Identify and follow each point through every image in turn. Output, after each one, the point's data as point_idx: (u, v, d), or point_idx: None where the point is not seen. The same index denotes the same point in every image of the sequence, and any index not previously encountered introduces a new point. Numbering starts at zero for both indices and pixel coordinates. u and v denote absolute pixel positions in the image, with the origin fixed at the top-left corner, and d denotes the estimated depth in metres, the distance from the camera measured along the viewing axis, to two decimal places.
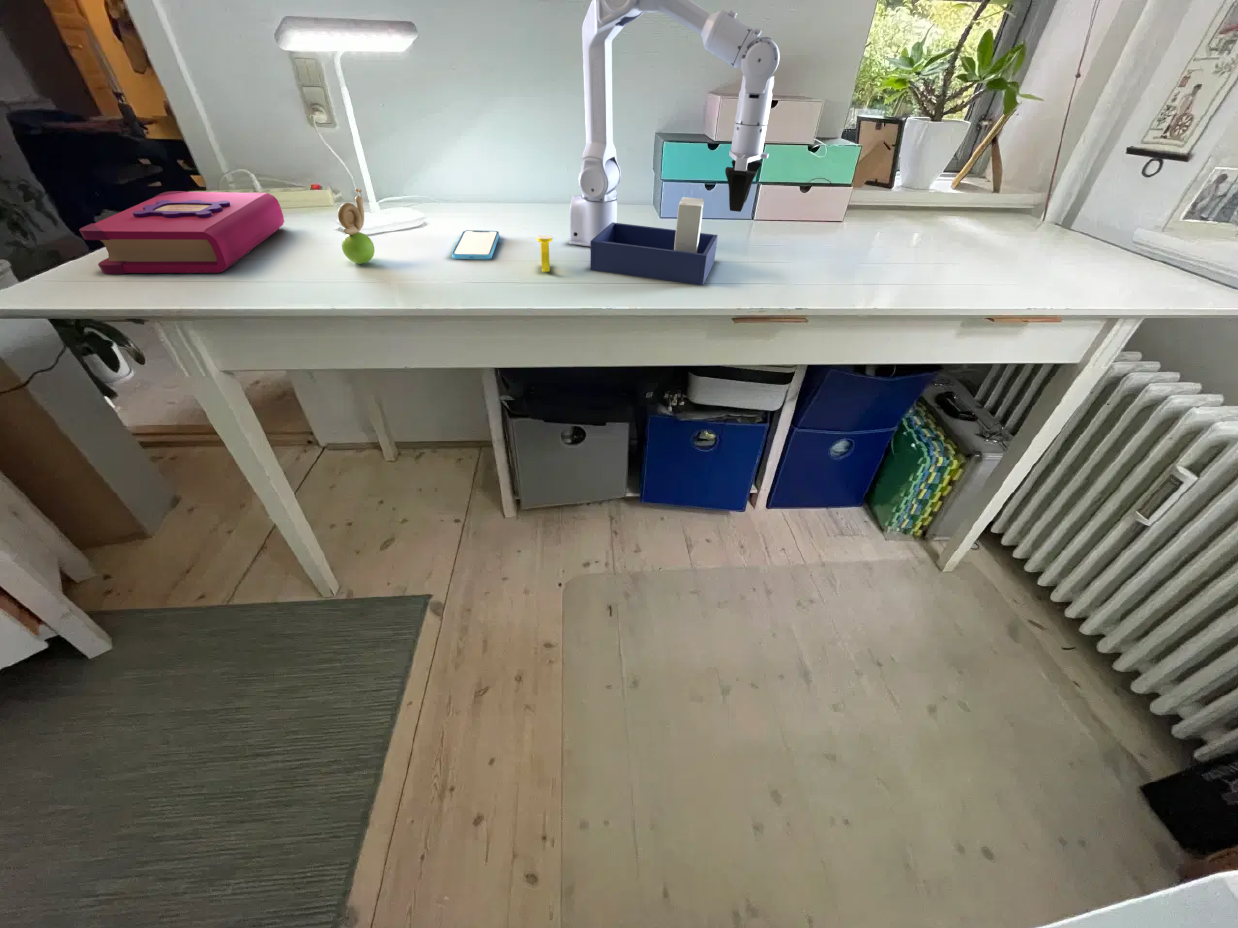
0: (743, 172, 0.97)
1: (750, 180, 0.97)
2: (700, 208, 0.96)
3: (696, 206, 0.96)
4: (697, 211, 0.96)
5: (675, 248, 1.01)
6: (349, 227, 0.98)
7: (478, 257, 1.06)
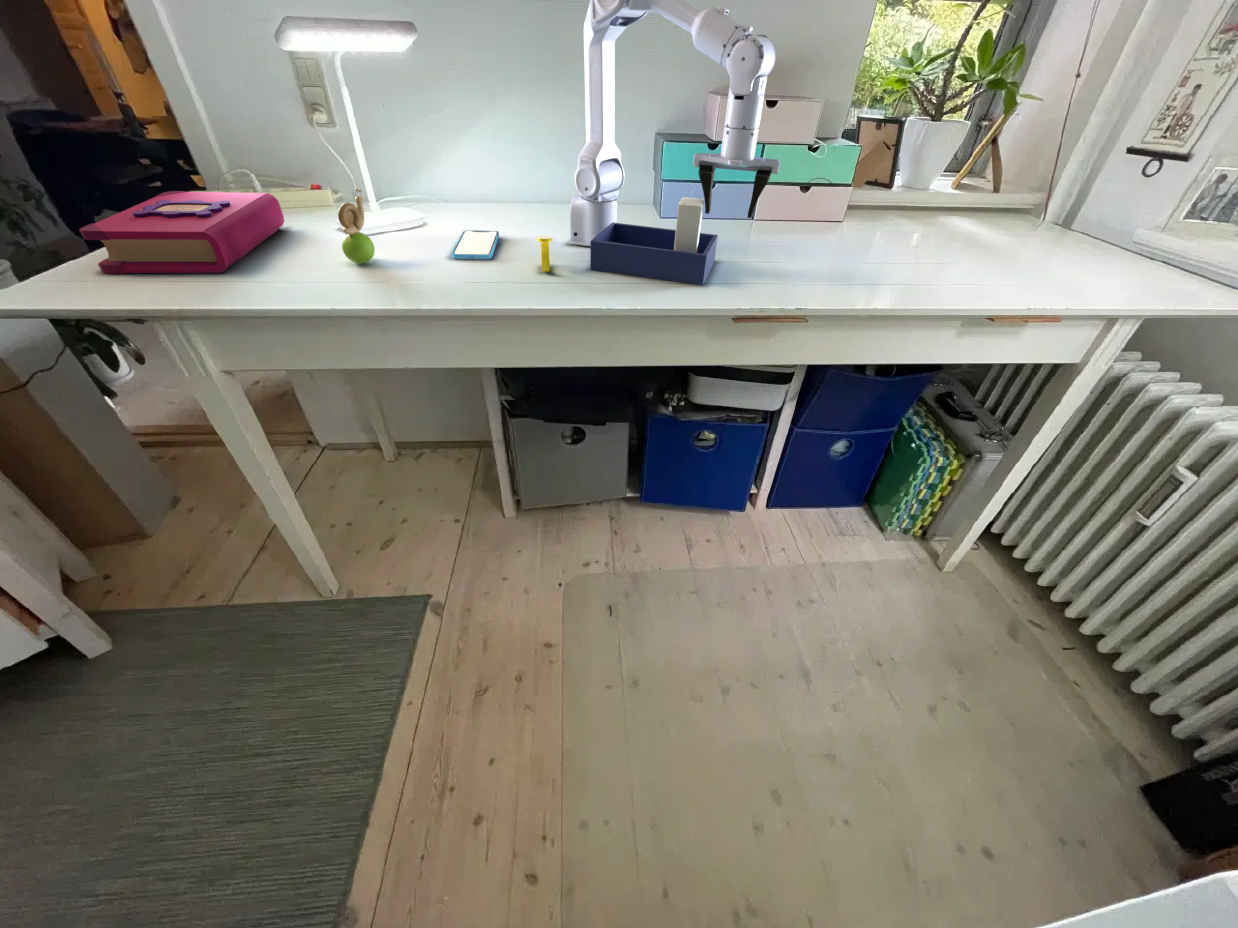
0: None
1: (700, 179, 0.95)
2: (700, 208, 0.96)
3: (696, 206, 0.96)
4: (697, 211, 0.96)
5: (675, 248, 1.01)
6: (349, 227, 0.98)
7: (478, 257, 1.06)
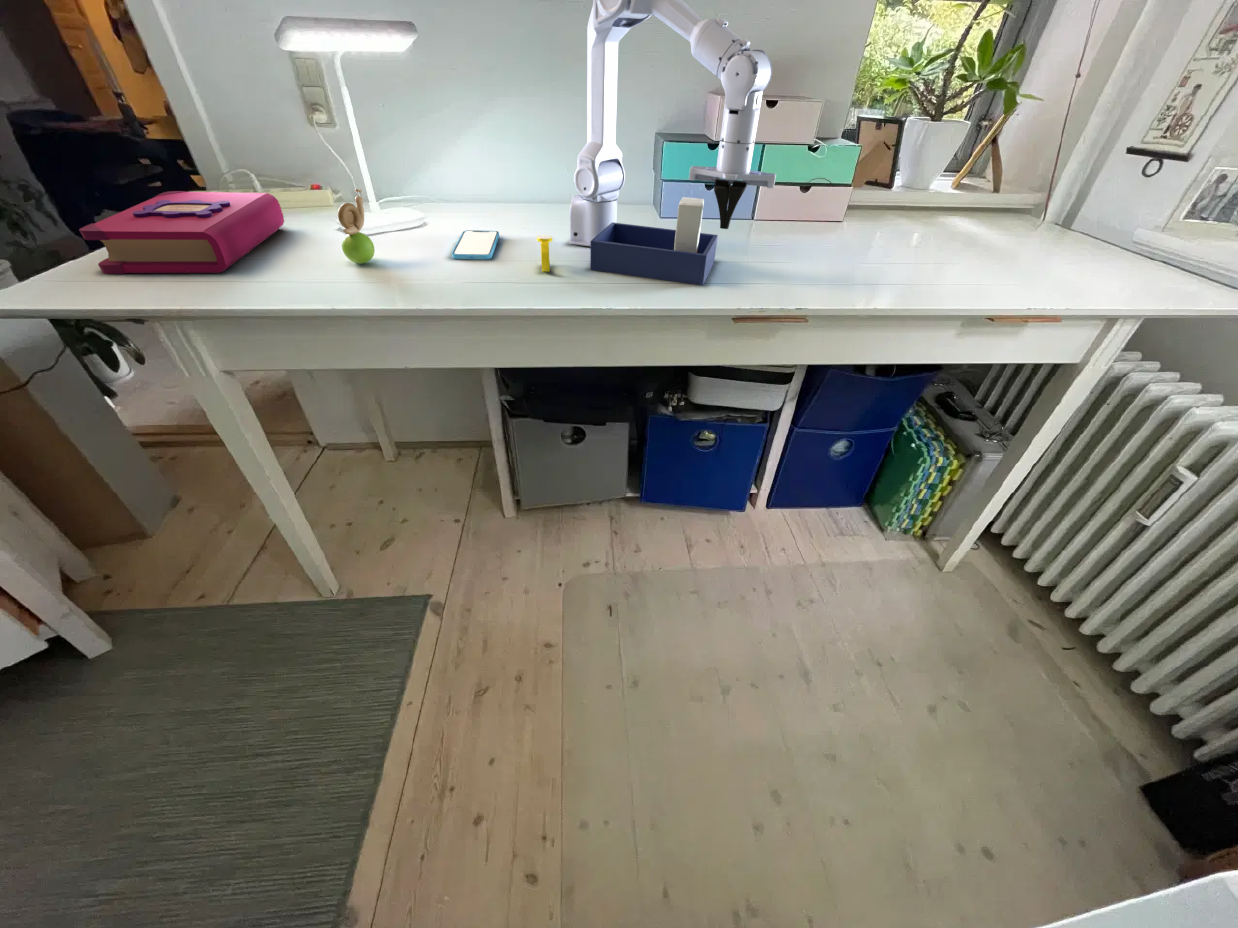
0: (715, 184, 0.95)
1: (715, 194, 0.95)
2: (700, 208, 0.96)
3: (696, 206, 0.96)
4: (697, 211, 0.96)
5: (675, 248, 1.01)
6: (349, 227, 0.98)
7: (478, 257, 1.06)
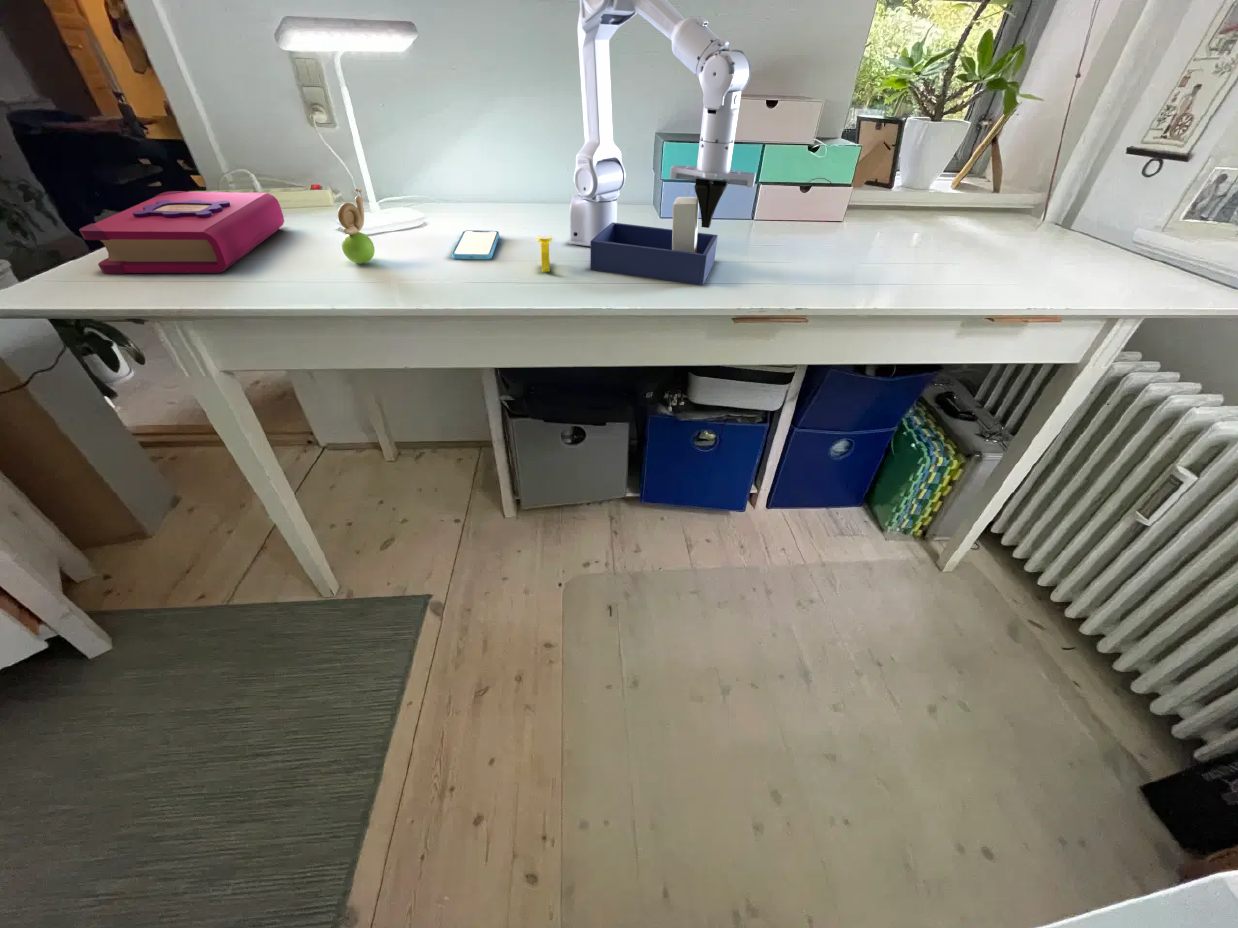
0: None
1: (696, 193, 0.95)
2: (695, 206, 0.96)
3: (690, 204, 0.96)
4: (692, 209, 0.96)
5: (673, 248, 1.01)
6: (349, 227, 0.98)
7: (478, 257, 1.06)
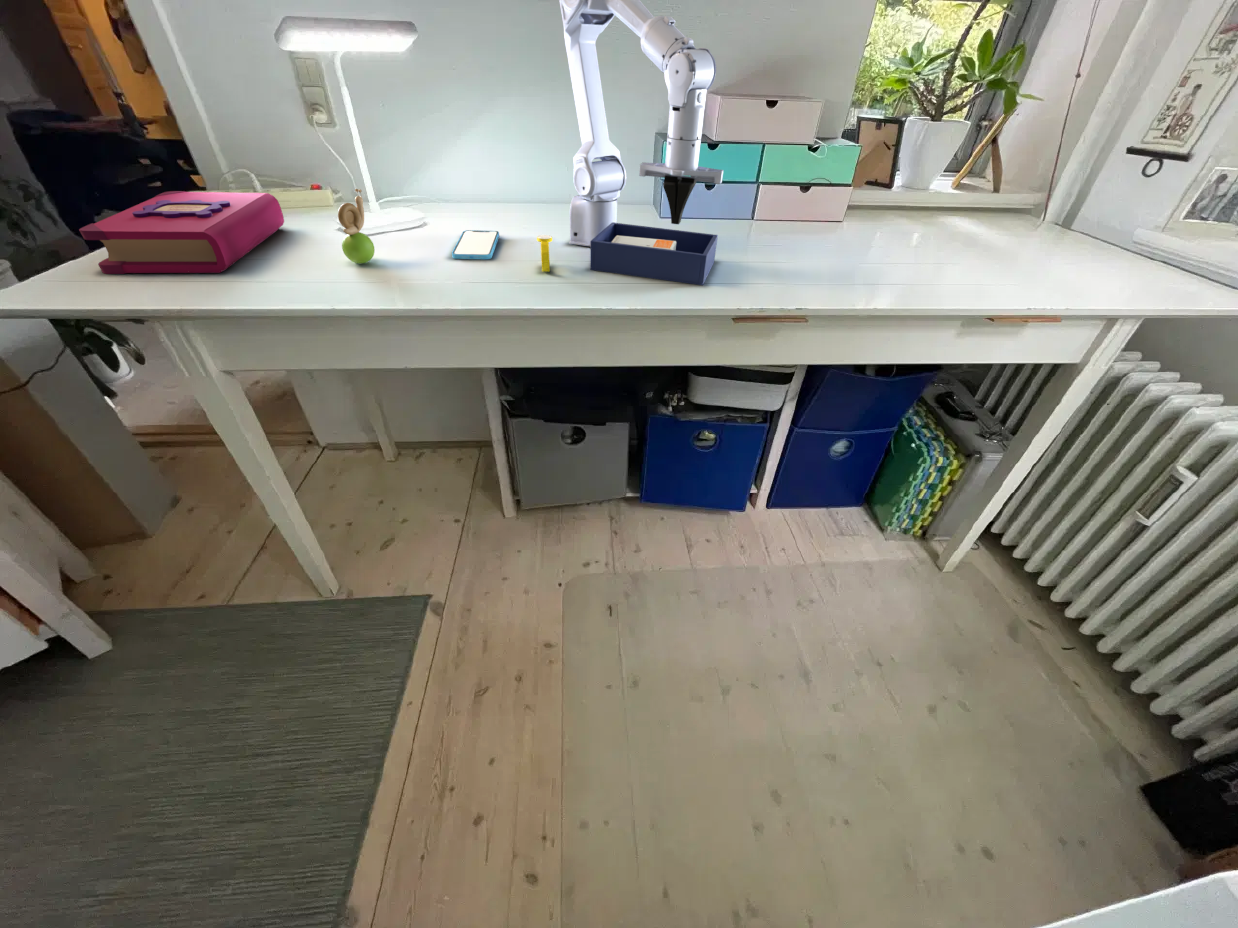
0: None
1: (665, 190, 0.97)
2: None
3: None
4: None
5: None
6: (349, 227, 0.98)
7: (478, 257, 1.06)
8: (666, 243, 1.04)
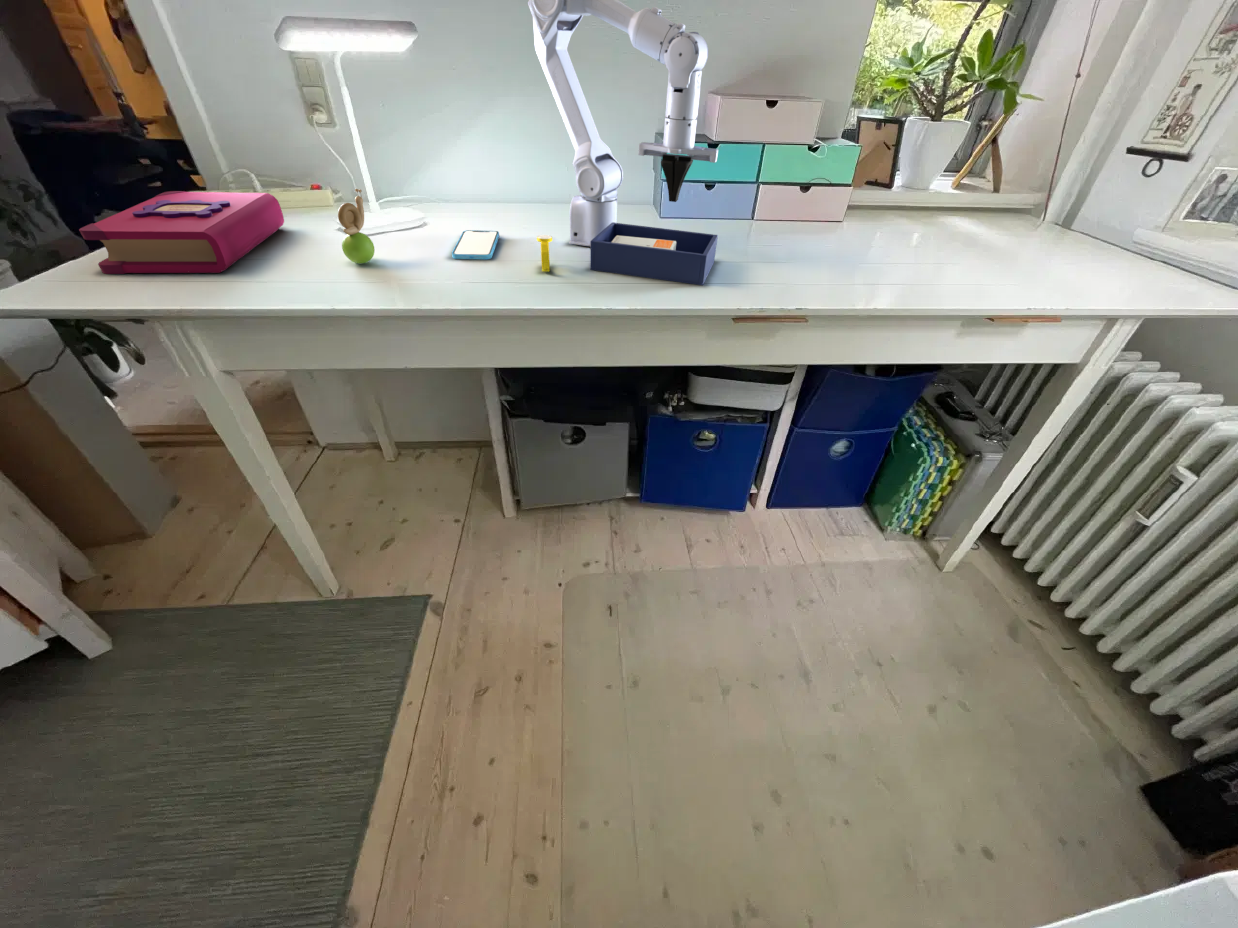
0: None
1: (662, 168, 1.02)
2: None
3: None
4: None
5: None
6: (349, 227, 0.98)
7: (478, 257, 1.06)
8: (666, 243, 1.04)
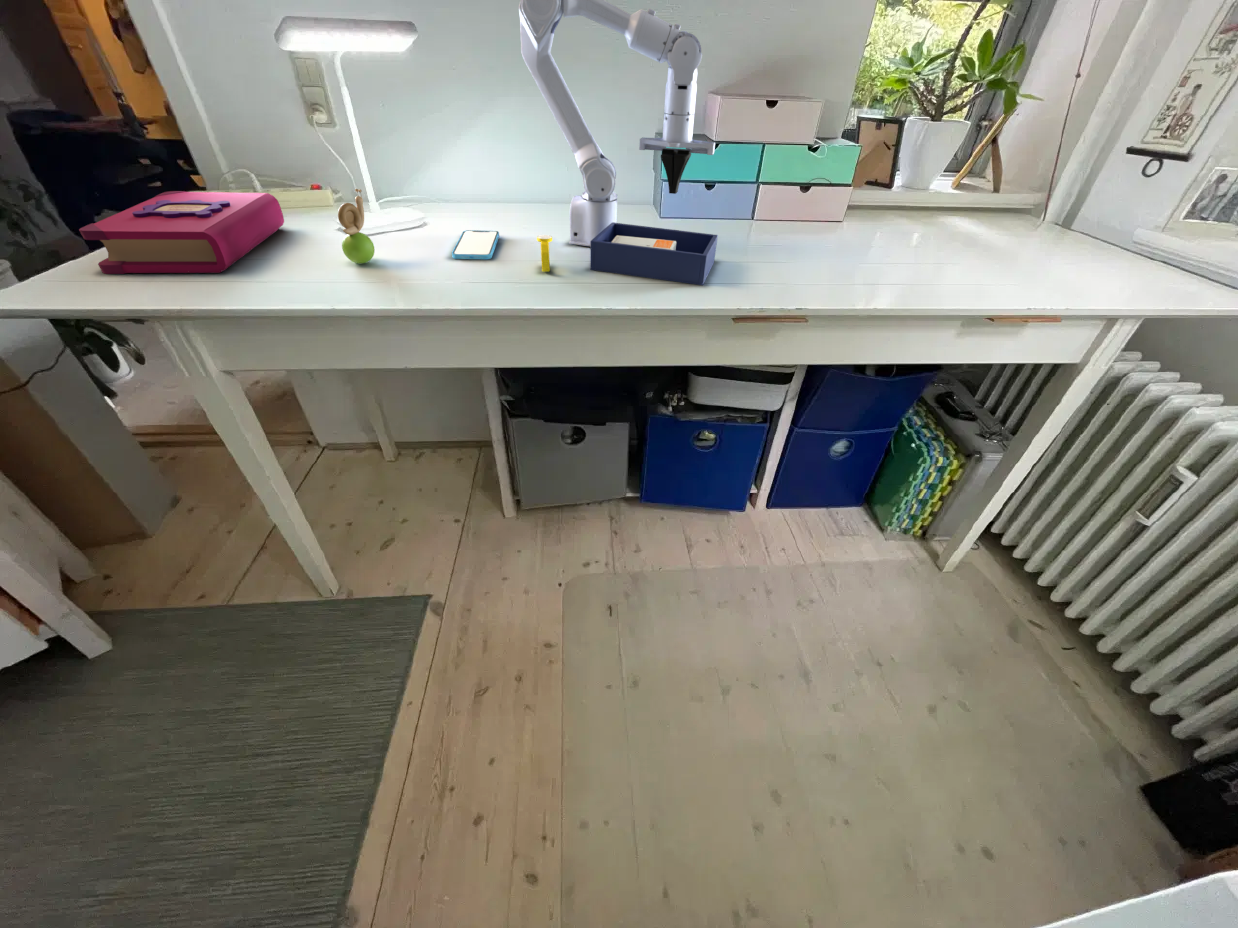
0: (662, 153, 1.07)
1: None
2: None
3: None
4: None
5: None
6: (349, 227, 0.98)
7: (478, 257, 1.06)
8: (666, 243, 1.04)
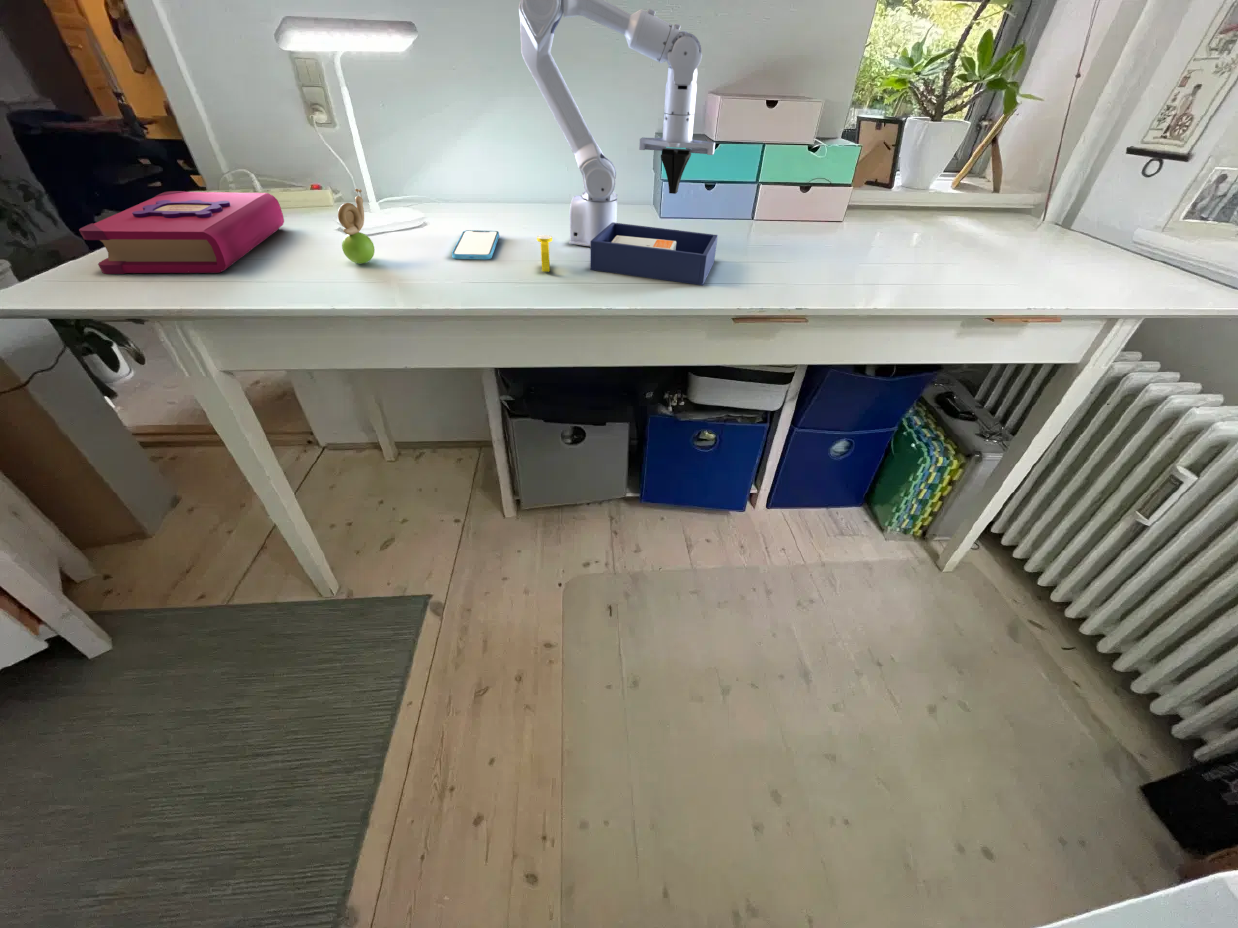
0: (662, 153, 1.07)
1: None
2: None
3: None
4: None
5: None
6: (349, 227, 0.98)
7: (478, 257, 1.06)
8: (666, 243, 1.04)
